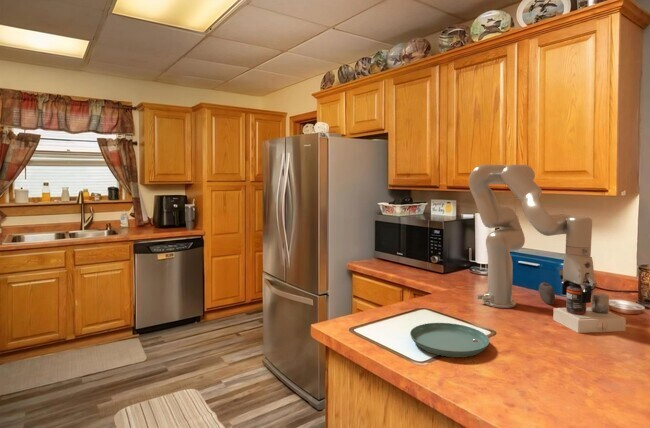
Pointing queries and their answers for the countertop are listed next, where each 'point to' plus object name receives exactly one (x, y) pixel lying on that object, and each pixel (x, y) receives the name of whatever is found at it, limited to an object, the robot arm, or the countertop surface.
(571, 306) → the supplement bottle
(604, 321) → the scale
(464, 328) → the saucer
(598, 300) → the spacer
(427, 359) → the countertop surface
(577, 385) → the countertop surface
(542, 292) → the perforated stone tool
